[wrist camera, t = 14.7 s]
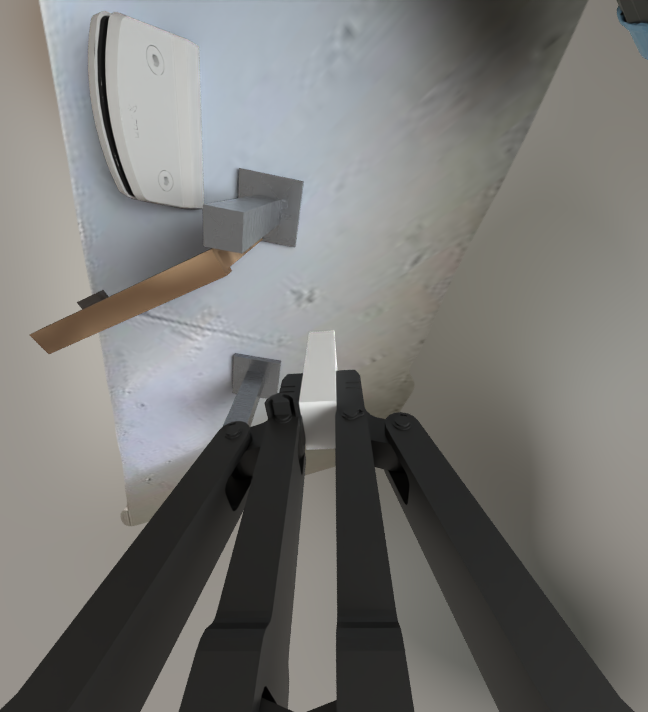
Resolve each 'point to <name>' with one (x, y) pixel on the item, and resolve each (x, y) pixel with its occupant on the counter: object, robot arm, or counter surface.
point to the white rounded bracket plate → (147, 109)
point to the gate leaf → (136, 298)
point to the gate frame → (237, 234)
